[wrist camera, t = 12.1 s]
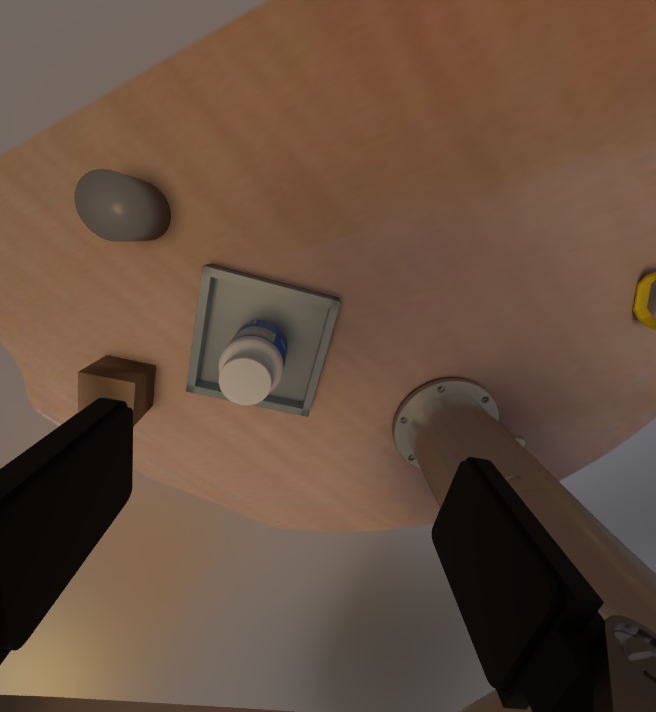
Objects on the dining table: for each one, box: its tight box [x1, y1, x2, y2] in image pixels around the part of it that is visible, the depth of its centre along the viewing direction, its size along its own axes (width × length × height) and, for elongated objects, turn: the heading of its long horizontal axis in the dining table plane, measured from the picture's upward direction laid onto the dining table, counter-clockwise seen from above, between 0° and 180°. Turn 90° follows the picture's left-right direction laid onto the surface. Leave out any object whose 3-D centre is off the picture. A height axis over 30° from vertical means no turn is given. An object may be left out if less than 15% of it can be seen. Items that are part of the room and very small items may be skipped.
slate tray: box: [186, 264, 341, 417], centre depth 33 cm, size 13×13×2 cm
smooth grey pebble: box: [75, 169, 171, 241], centre depth 27 cm, size 5×5×5 cm
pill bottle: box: [219, 320, 287, 405], centre depth 29 cm, size 6×5×10 cm
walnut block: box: [78, 355, 156, 426], centre depth 33 cm, size 5×5×4 cm
